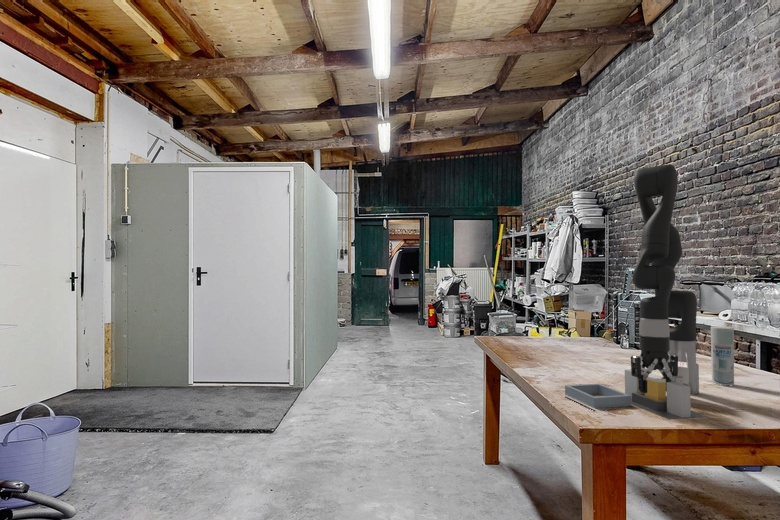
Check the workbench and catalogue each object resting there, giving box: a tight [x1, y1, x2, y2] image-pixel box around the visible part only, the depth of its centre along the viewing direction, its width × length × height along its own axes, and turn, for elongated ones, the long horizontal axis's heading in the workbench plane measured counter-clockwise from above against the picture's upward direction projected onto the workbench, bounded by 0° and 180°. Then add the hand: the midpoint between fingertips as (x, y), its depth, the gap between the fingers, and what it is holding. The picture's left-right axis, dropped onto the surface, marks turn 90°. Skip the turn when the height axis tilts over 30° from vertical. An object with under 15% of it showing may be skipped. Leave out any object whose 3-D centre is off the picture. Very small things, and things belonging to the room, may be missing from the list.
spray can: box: [710, 325, 735, 386], centre depth 155 cm, size 6×6×20 cm
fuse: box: [645, 374, 667, 401], centre depth 126 cm, size 3×5×8 cm, turn 11°
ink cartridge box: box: [671, 353, 689, 386], centre depth 133 cm, size 9×5×15 cm, turn 148°
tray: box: [564, 383, 632, 412], centre depth 132 cm, size 12×14×4 cm
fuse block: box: [624, 368, 708, 420], centre depth 126 cm, size 12×22×9 cm, turn 11°
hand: (654, 391), depth 126 cm, fingers open, 7 cm apart
